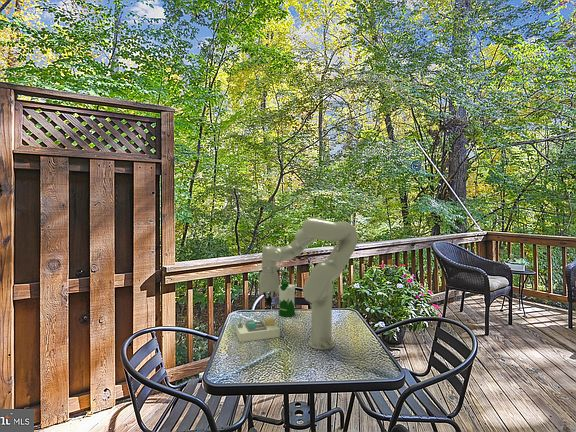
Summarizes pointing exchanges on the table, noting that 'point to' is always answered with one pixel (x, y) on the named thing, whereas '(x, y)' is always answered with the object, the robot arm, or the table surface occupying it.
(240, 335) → the panel
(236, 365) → the table surface
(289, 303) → the milk carton
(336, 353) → the table surface
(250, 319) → the slider grey
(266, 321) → the button
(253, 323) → the slider teal
